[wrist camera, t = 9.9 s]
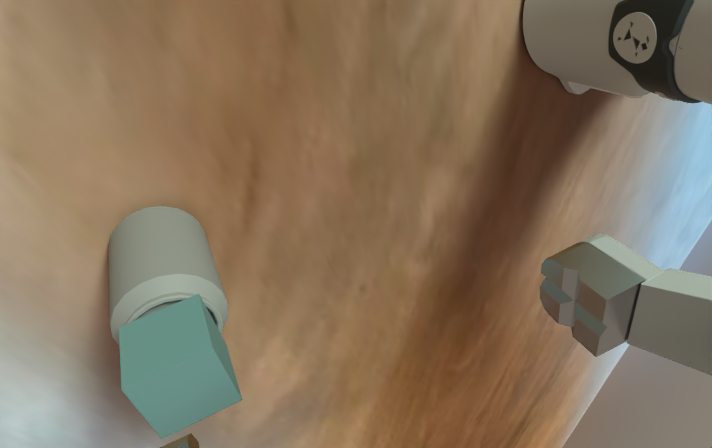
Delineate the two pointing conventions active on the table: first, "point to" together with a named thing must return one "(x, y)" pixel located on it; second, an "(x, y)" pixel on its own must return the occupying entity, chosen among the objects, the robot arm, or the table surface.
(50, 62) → the table surface
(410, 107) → the table surface
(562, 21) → the robot arm
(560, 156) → the table surface
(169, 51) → the table surface
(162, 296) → the can
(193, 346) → the teal block
